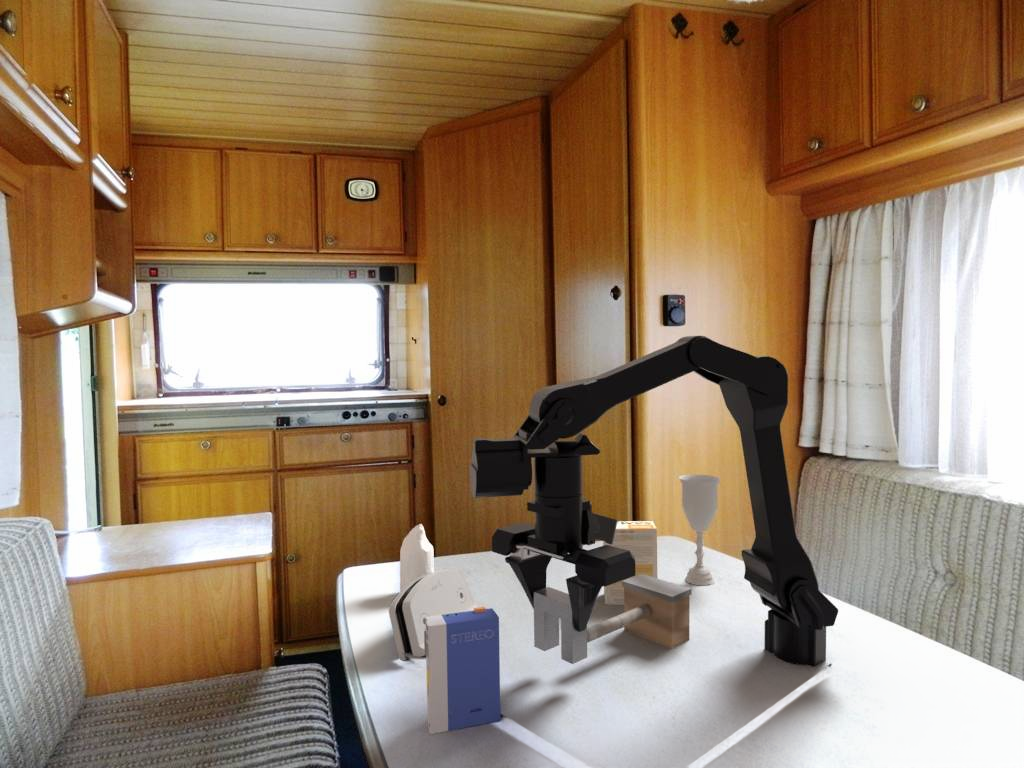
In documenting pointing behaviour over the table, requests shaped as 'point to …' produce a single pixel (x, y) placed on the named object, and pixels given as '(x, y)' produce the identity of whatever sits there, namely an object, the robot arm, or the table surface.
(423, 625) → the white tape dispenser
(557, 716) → the table surface
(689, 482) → the chalice
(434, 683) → the walkman
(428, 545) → the white tall chunk
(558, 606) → the metal u-shaped block
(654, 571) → the supplement box
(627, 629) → the wooden mallet
